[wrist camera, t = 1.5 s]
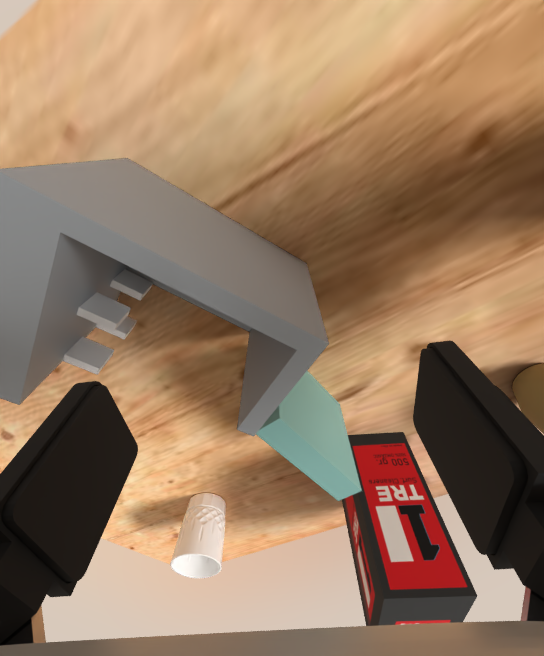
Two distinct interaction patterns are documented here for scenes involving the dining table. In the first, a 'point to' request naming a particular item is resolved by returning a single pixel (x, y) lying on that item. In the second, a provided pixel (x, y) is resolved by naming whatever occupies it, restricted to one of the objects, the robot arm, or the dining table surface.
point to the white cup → (201, 537)
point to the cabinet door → (314, 437)
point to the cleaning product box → (401, 539)
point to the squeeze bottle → (531, 394)
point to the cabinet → (140, 276)
